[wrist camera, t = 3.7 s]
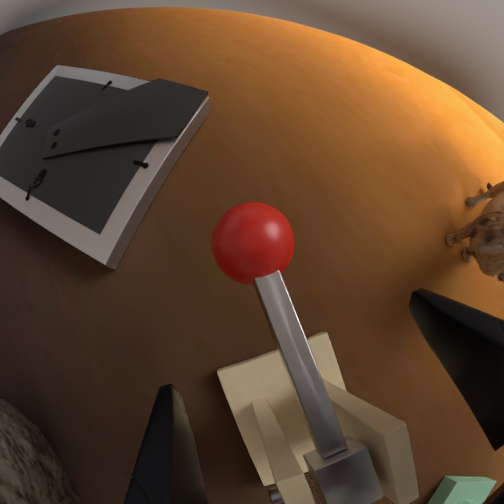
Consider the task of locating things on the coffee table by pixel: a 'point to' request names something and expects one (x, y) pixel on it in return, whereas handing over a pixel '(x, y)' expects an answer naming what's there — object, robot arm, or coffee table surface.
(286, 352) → the lever
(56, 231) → the picture frame
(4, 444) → the vase
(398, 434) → the bracket
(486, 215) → the lion figurine
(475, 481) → the button block
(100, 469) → the coffee table surface
